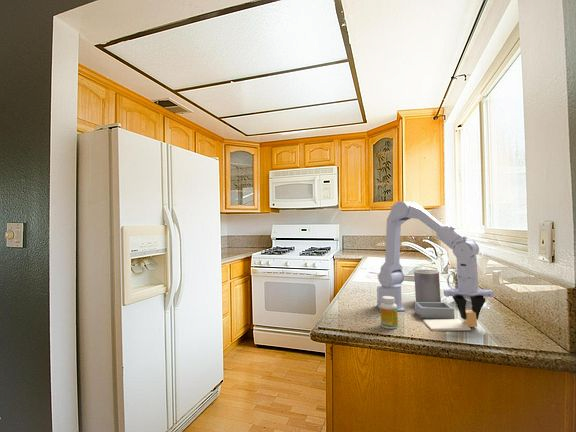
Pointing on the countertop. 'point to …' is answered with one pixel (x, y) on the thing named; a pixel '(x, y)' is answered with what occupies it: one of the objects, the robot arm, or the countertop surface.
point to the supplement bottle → (389, 313)
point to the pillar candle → (427, 286)
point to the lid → (453, 323)
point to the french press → (468, 302)
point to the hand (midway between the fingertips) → (469, 318)
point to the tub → (434, 310)
